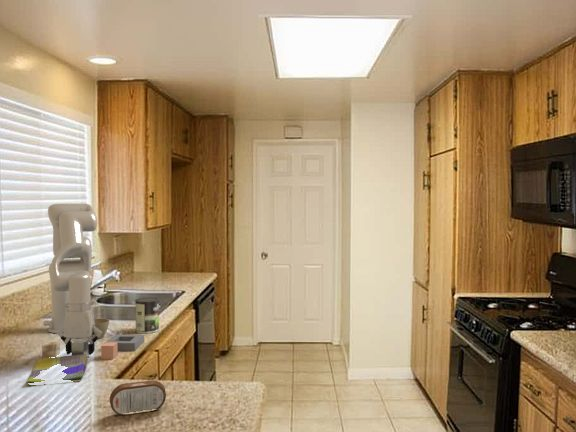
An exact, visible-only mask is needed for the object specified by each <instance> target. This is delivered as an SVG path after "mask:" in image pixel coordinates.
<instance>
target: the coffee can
mask: <svg viewBox="0 0 576 432" xmlns="http://www.w3.org/2000/svg"><path fill="white" fill-rule="evenodd" d="M134 301H135V333H138V334H153V333H156V332H158V331H160V323H159V322H160V315H159V314H160V313H159V312H160V306H159V305H160V304H159V303H160V298H158V297H150V296H149V297H141V298H140V297H139V298H136V299H135V300H134Z"/></svg>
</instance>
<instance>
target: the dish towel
mask: <svg viewBox="0 0 576 432" xmlns="http://www.w3.org/2000/svg"><path fill="white" fill-rule="evenodd" d="M89 360H90V359H89V358H88V356H87V357H86V355H83V354H81V355H72V354H71V355H70V354H69V355H63V356H58V357H55V358H43V359H42V358H40V359H38V360H37V361H36V362H35V364H34V367H33V369H32V371H31V373H32V374H30V376H29V378H28V379H27V380H26V385H27V384H28V383H34V382H41V381H45V380H41V379H33V378H35V377H36V376H38V375H39V374H40V371H42V370H47V369H49V368H50V367H52V366H54V365H57V364H61V366H65V367H68V368H67V369H65V370H63V371H62V372H64V373H66V374H67V375H66V376H65V377H64V378H62V379H63V380H71V381H73V382H74V383H80V381H82V379H83V378H84V376H85V373H86V371H87V367H88V364H89Z"/></svg>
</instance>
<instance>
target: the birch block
mask: <svg viewBox="0 0 576 432" xmlns="http://www.w3.org/2000/svg"><path fill="white" fill-rule="evenodd" d="M60 346H61V342H60V341H47V342H45V343H43V344H42V345H41V357H42V358H49V357H50V358H51V357H56V356H57V355H59V354H60V355H61V347H60ZM60 355H59V356H60ZM42 358H41V359H42Z"/></svg>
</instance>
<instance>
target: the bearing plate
mask: <svg viewBox="0 0 576 432" xmlns="http://www.w3.org/2000/svg"><path fill="white" fill-rule="evenodd" d="M106 342H117V346H118V351H119V352H121V351H122V352H123V351H129V352H131V351H133V352H134V351H136V350H137V349H139V348H140V346H141V345H143V344H144V343H145V334H114V335H113V336H110V338H109V339H107V340H106V341H105V342H104V343H106Z"/></svg>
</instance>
